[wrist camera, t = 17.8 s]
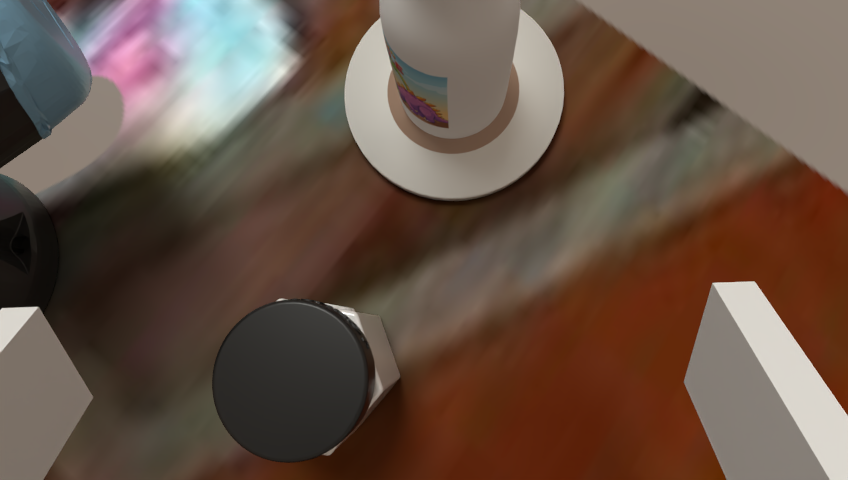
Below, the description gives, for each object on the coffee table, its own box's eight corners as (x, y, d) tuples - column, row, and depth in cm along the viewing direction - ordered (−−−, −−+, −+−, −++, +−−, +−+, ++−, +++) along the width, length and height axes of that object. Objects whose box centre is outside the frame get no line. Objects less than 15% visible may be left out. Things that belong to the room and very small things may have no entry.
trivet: (306, 129, 44) (302, 123, 43) (423, -38, 45) (422, -49, 44) (485, 242, 42) (486, 240, 40) (602, 64, 43) (606, 55, 42)
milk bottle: (490, 29, 43) (515, -227, 23) (518, 126, 41) (569, -55, 22) (389, 56, 43) (327, -175, 23) (414, 153, 42) (370, -2, 22)
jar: (411, 318, 41) (390, 314, 29) (390, 435, 40) (360, 480, 28) (289, 296, 42) (222, 283, 30) (265, 410, 41) (186, 444, 29)
